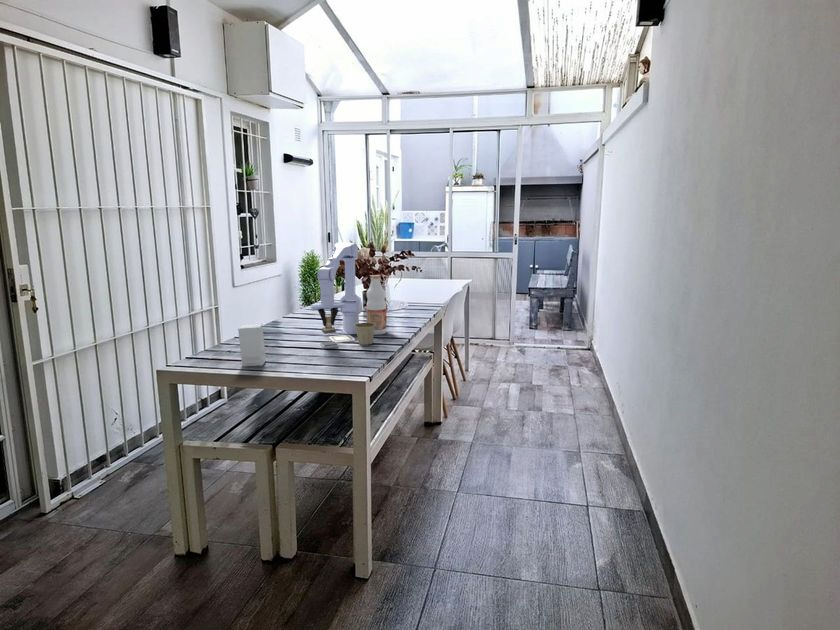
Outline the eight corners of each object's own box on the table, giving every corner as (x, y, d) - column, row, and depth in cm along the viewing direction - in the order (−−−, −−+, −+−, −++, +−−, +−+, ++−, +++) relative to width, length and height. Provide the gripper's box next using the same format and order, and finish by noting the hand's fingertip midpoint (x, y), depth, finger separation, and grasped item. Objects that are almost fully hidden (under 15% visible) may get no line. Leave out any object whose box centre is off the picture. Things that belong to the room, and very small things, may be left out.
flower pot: (356, 346, 249) (356, 327, 247) (353, 341, 258) (352, 323, 256) (377, 345, 251) (377, 326, 250) (373, 340, 260) (373, 321, 259)
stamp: (322, 331, 251) (321, 315, 250) (333, 330, 253) (332, 314, 252) (324, 333, 247) (323, 317, 245) (335, 332, 248) (335, 316, 247)
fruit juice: (363, 332, 276) (362, 275, 271) (380, 329, 281) (379, 273, 276) (373, 335, 269) (371, 277, 263) (390, 333, 274) (389, 275, 268)
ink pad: (320, 345, 252) (320, 342, 252) (335, 343, 255) (335, 340, 255) (323, 348, 246) (323, 345, 246) (338, 346, 249) (338, 344, 249)
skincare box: (266, 361, 227) (263, 323, 224) (262, 366, 221) (259, 327, 218) (245, 362, 227) (242, 324, 224) (240, 366, 220) (237, 327, 217)
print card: (328, 337, 265) (328, 336, 265) (349, 335, 269) (349, 334, 269) (334, 343, 255) (334, 341, 255) (355, 341, 259) (355, 339, 259)
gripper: (312, 297, 240) (314, 328, 243) (345, 295, 245) (347, 325, 248) (309, 295, 246) (310, 325, 249) (341, 292, 252) (343, 322, 254)
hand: (328, 325), depth 249 cm, fingers closed on stamp, 3 cm apart
